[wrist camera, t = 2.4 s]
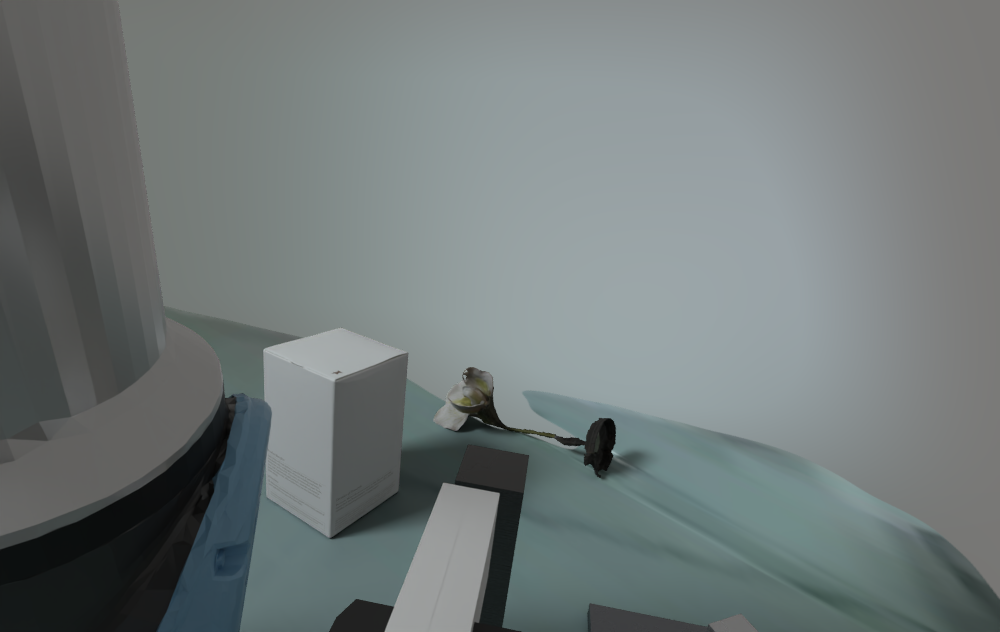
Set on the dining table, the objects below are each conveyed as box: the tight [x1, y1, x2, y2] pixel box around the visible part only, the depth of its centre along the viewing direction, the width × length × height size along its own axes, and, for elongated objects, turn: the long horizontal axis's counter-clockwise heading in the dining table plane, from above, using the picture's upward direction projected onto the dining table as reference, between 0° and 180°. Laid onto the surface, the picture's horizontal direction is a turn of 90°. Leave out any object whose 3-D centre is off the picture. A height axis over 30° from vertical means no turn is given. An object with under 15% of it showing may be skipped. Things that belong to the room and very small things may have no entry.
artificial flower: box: [433, 367, 616, 478], centre depth 63 cm, size 9×22×10 cm, turn 58°
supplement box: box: [263, 328, 408, 538], centre depth 48 cm, size 9×9×15 cm
